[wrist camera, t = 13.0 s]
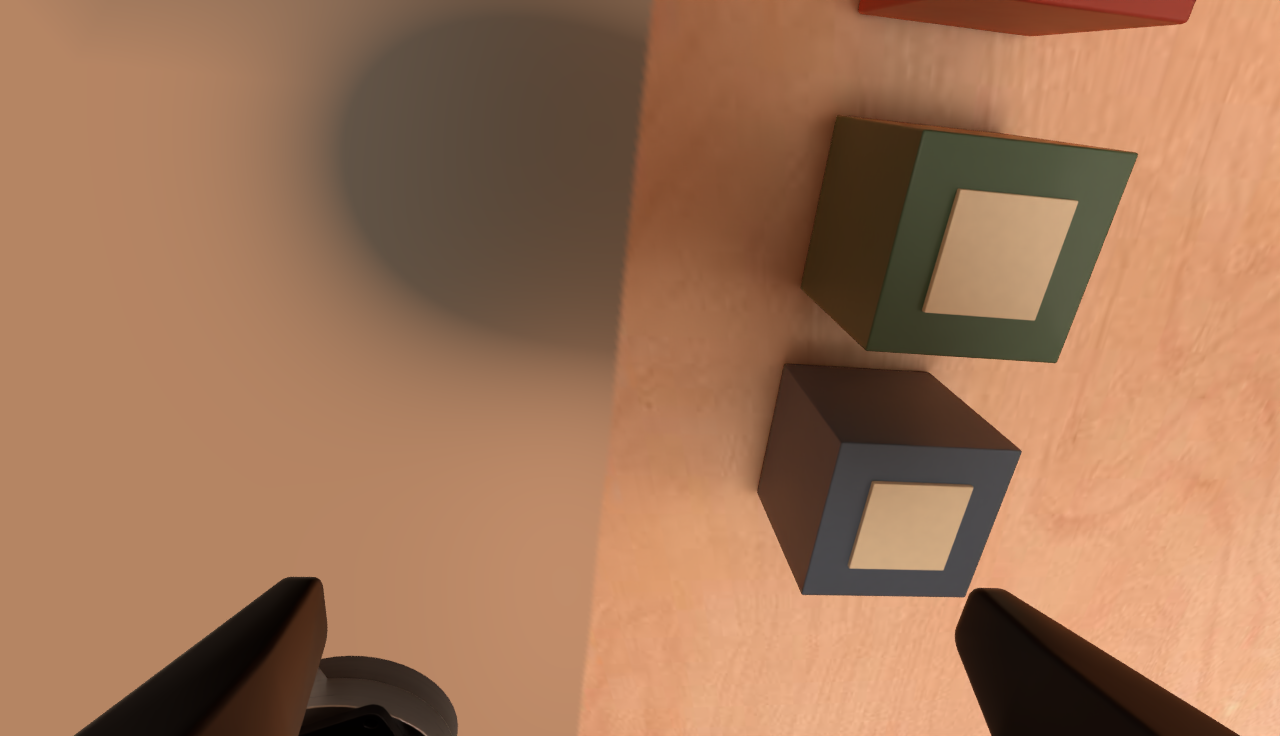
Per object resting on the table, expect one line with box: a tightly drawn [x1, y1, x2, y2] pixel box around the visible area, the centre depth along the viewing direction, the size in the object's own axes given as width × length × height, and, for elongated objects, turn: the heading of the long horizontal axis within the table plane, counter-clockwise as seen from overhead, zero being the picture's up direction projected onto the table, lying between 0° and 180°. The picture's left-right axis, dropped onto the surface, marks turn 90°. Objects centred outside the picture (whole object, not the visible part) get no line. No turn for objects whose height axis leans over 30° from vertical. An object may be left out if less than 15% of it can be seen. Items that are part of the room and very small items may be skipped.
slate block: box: [757, 364, 1021, 597], centre depth 20 cm, size 5×5×5 cm
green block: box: [801, 115, 1138, 363], centre depth 17 cm, size 5×5×5 cm
